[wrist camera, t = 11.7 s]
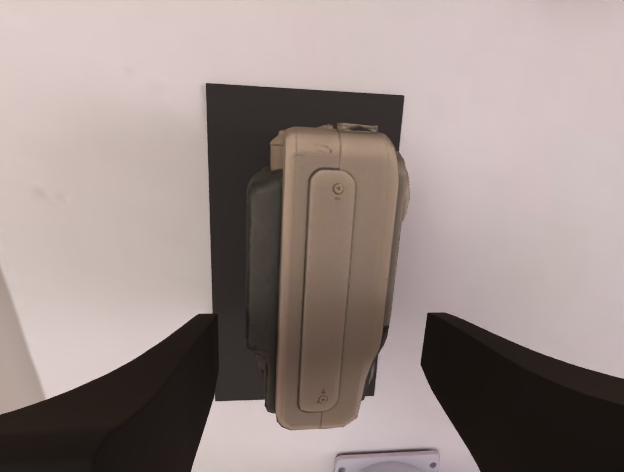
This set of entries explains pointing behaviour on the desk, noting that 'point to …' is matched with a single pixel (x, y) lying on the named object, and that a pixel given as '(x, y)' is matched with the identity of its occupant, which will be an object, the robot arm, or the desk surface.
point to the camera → (322, 268)
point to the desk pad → (233, 188)
